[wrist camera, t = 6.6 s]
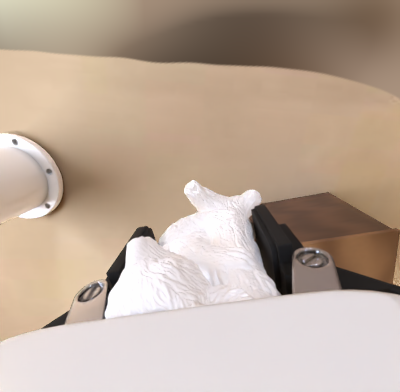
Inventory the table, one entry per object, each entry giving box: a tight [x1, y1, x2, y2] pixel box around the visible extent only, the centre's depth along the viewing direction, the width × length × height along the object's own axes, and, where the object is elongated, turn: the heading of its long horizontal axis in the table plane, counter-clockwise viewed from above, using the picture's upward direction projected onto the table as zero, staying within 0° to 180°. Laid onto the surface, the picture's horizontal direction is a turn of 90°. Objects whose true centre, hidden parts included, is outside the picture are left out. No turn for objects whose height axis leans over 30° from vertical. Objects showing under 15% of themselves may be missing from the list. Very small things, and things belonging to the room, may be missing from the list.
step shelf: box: [249, 192, 400, 284], centre depth 27 cm, size 13×22×11 cm, turn 12°
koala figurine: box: [105, 180, 281, 319], centre depth 8 cm, size 8×7×12 cm
